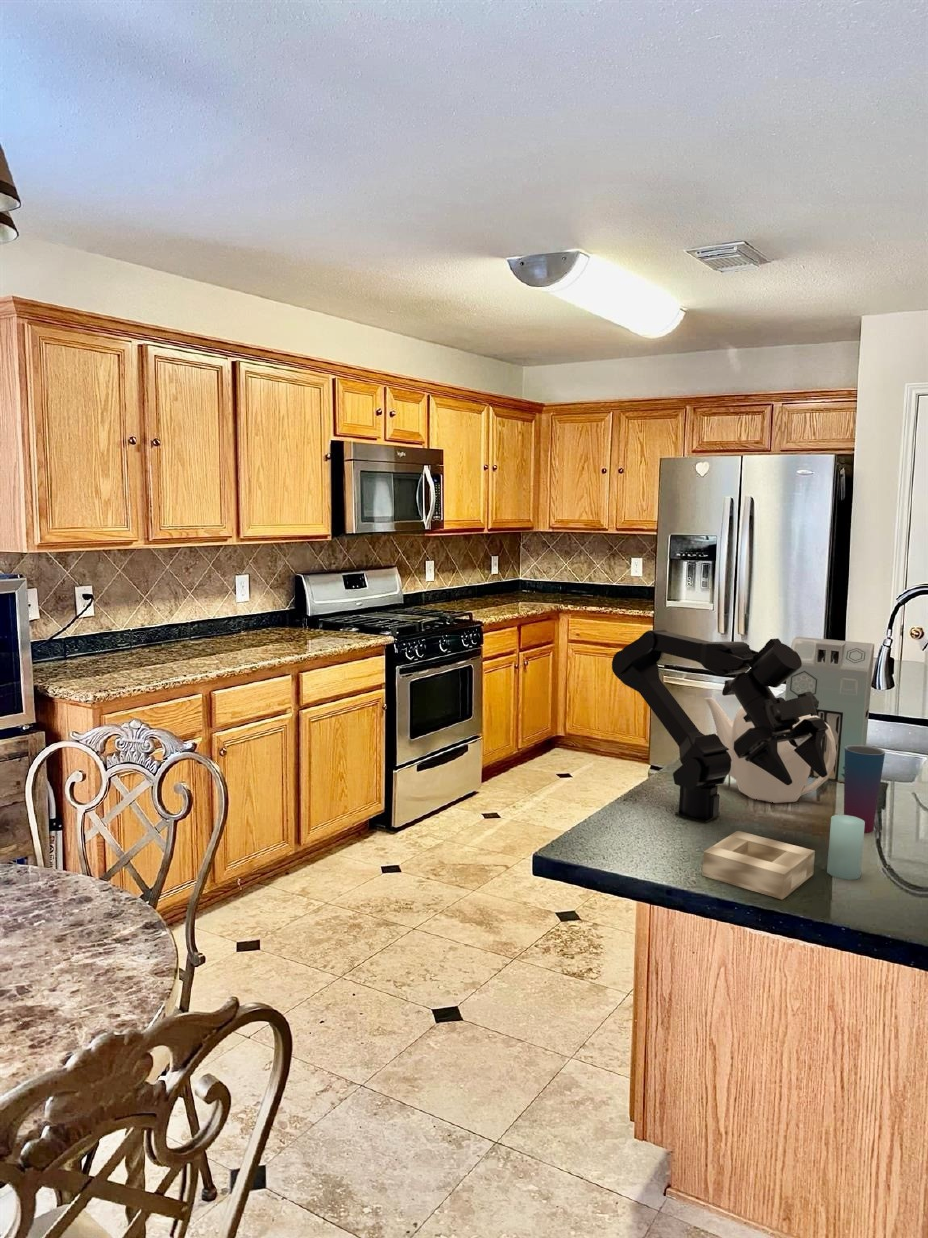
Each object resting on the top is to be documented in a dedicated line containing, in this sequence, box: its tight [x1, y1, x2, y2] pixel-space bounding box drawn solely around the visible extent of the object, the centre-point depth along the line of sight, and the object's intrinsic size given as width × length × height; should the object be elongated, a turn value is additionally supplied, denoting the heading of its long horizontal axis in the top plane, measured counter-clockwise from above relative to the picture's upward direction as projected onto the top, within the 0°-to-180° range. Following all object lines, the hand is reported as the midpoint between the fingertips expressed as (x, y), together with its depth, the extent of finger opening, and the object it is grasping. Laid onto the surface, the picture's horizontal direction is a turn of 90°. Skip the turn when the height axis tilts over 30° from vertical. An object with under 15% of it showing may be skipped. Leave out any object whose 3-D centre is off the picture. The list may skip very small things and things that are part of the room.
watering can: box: [704, 696, 836, 804], centre depth 187 cm, size 16×27×19 cm, turn 59°
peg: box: [826, 814, 865, 881], centre depth 147 cm, size 5×5×9 cm
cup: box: [843, 744, 886, 834], centre depth 169 cm, size 7×7×15 cm
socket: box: [701, 830, 816, 901], centre depth 146 cm, size 13×13×4 cm
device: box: [784, 636, 875, 784], centre depth 201 cm, size 16×8×30 cm, turn 60°
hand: (808, 780), depth 153 cm, fingers open, 9 cm apart
